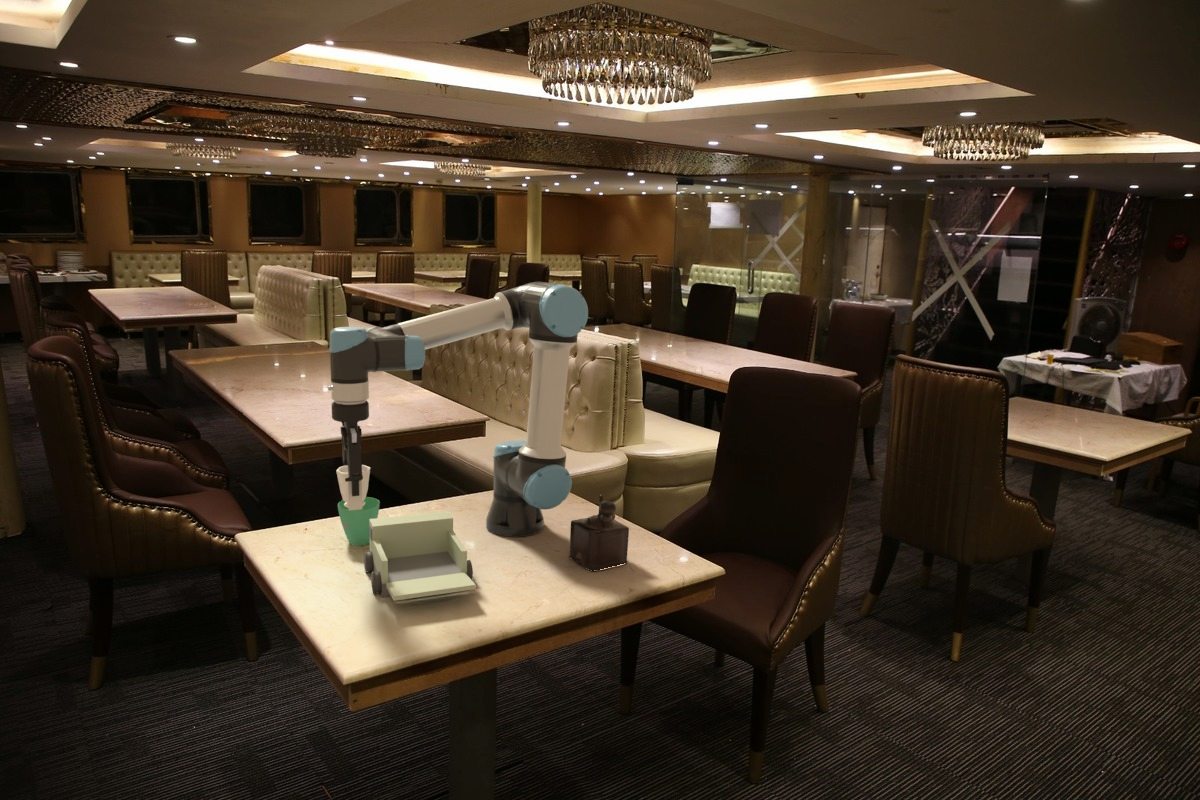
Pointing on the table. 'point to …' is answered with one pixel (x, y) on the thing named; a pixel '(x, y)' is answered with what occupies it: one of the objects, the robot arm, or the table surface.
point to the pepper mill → (599, 539)
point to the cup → (342, 474)
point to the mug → (358, 520)
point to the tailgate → (430, 586)
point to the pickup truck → (413, 549)
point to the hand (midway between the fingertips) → (353, 501)
